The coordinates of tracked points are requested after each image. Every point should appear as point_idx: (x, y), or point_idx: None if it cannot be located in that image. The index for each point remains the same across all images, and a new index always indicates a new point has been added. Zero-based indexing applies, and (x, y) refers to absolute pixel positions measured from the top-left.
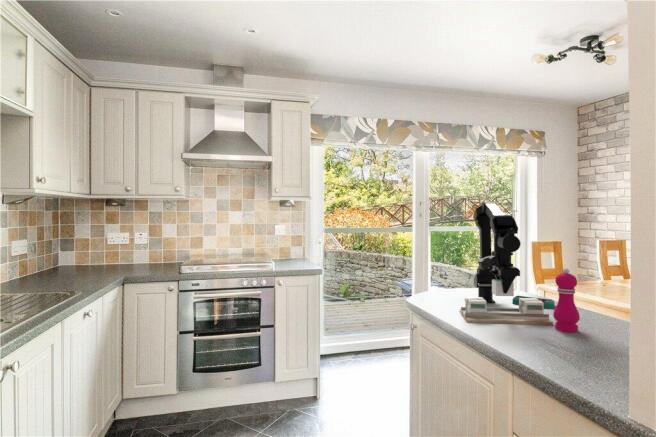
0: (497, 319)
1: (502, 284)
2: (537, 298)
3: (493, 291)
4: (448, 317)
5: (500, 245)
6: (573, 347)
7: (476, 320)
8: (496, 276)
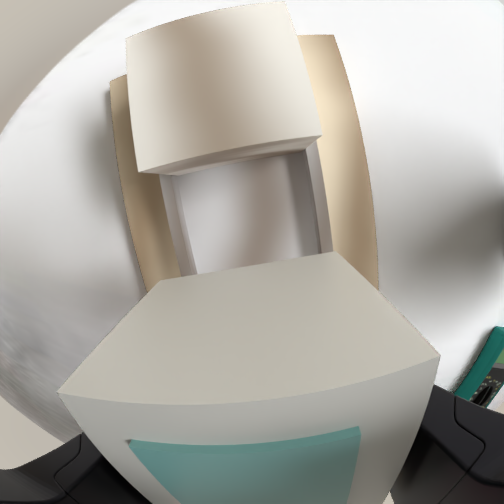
0: (143, 237)
1: (82, 436)
2: (487, 403)
3: (268, 273)
4: (184, 4)
5: None
6: (35, 389)
7: (114, 125)
8: (462, 475)
